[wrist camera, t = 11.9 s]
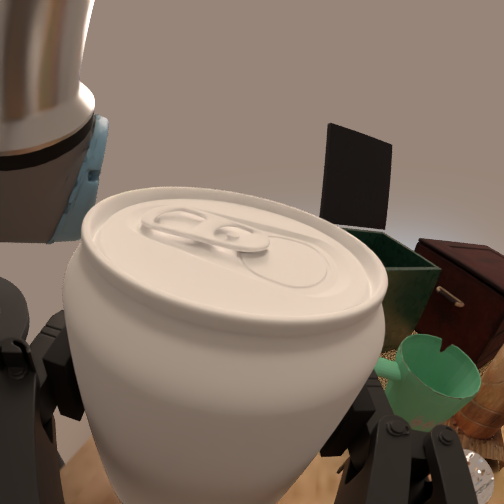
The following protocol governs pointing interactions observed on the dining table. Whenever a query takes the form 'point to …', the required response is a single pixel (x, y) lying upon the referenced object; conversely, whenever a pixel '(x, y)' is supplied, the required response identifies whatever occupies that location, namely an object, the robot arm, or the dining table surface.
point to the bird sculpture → (484, 414)
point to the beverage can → (217, 340)
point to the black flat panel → (355, 179)
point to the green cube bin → (400, 284)
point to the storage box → (465, 298)
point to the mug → (428, 381)
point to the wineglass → (479, 476)
